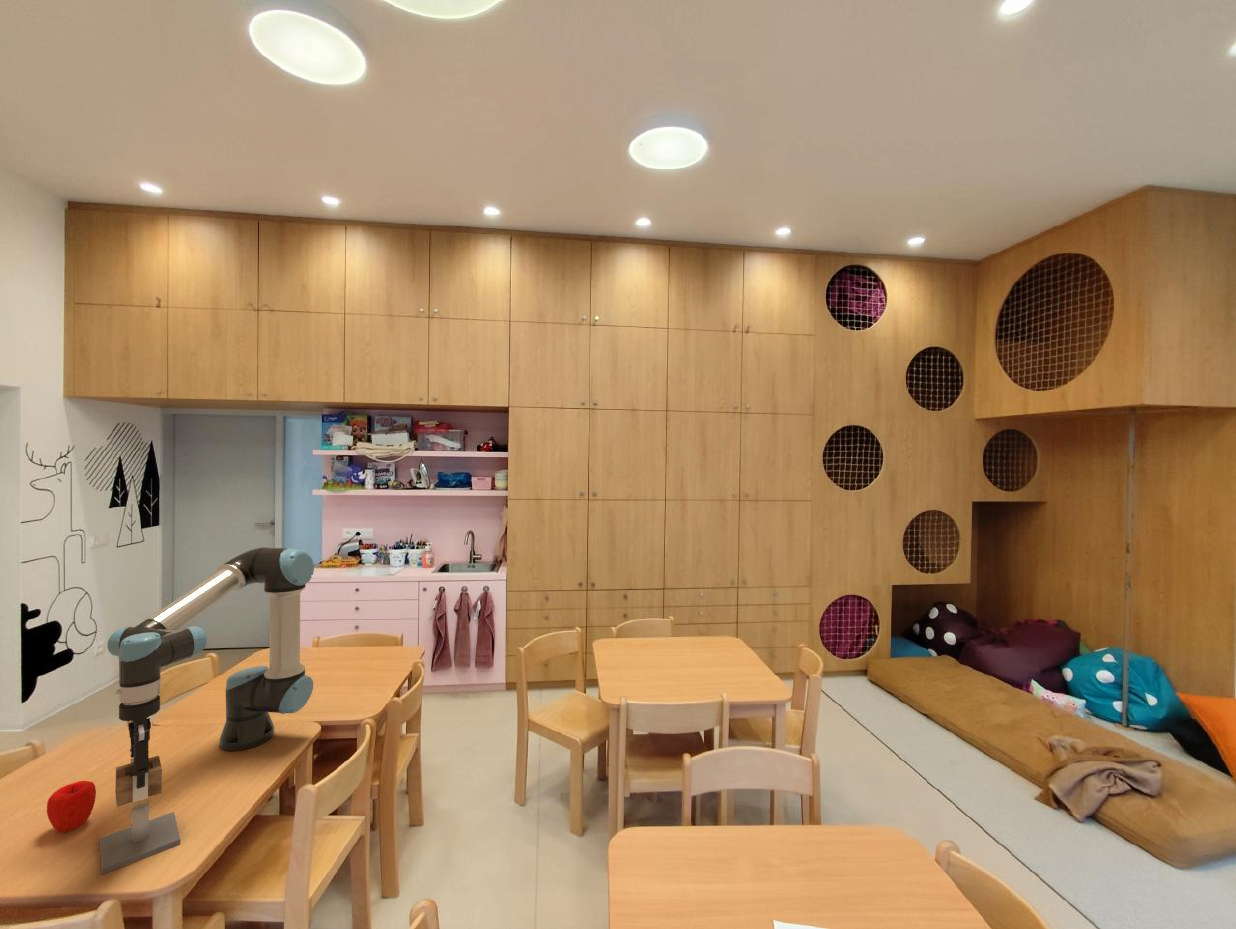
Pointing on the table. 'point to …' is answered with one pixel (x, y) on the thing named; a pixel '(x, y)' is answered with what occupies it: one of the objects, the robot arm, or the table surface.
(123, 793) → the frame
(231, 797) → the table surface
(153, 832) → the stand
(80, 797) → the apple
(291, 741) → the table surface
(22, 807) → the table surface
